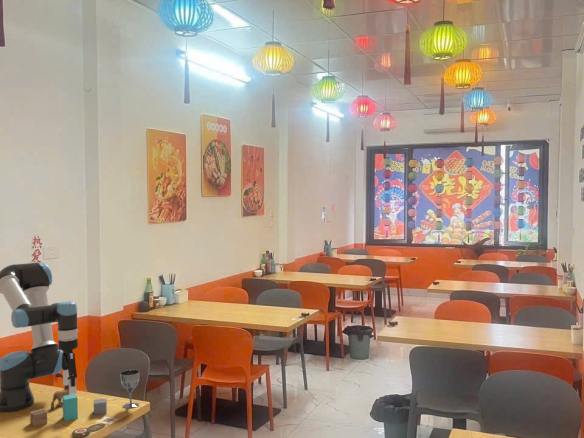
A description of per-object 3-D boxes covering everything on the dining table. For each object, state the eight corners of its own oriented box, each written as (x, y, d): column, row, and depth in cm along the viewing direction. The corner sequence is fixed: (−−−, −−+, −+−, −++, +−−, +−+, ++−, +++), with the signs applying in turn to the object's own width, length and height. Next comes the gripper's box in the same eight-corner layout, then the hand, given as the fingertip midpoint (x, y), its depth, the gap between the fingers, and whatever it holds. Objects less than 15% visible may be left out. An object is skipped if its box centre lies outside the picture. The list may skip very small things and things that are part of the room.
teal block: (63, 417, 228) (62, 396, 228) (75, 414, 231) (74, 393, 231) (65, 421, 224) (64, 399, 224) (77, 418, 227) (77, 397, 226)
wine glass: (128, 401, 245) (127, 368, 244) (143, 403, 242) (142, 370, 242) (117, 408, 237) (116, 374, 237) (133, 409, 235) (132, 375, 234)
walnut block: (30, 423, 222) (30, 411, 222) (43, 420, 225) (42, 408, 225) (34, 427, 218) (34, 415, 218) (47, 423, 222) (46, 411, 221)
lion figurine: (66, 397, 251) (66, 378, 251) (77, 398, 250) (76, 379, 250) (47, 409, 237) (47, 389, 236) (58, 410, 236) (58, 390, 235)
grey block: (94, 411, 235) (94, 399, 234) (106, 409, 236) (106, 398, 236) (93, 415, 230) (93, 403, 230) (106, 413, 231) (106, 402, 231)
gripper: (83, 343, 218) (85, 396, 218) (71, 332, 239) (73, 379, 239) (63, 346, 214) (65, 399, 214) (53, 334, 235) (55, 383, 235)
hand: (69, 389), depth 227 cm, fingers open, 13 cm apart
